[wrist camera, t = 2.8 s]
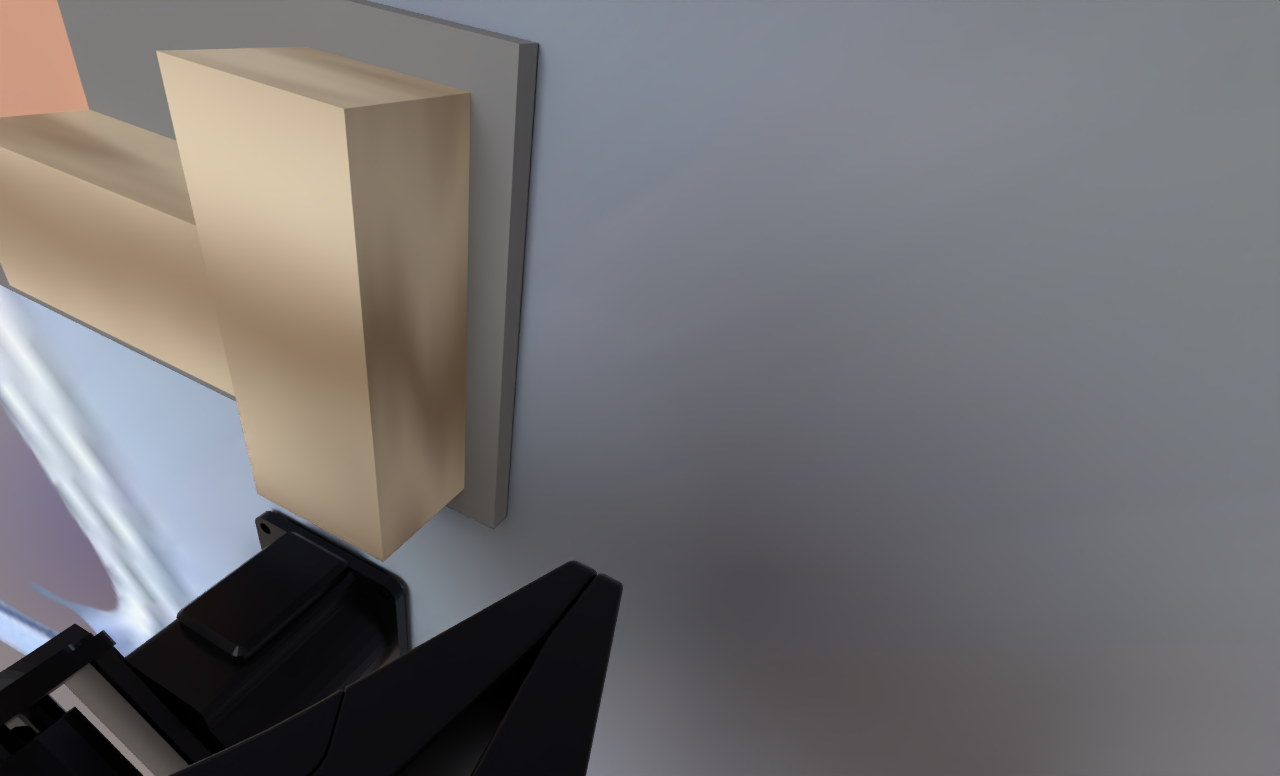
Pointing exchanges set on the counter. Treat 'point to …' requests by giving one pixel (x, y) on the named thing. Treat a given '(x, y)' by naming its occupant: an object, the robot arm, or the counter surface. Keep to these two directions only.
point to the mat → (349, 27)
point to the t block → (275, 265)
